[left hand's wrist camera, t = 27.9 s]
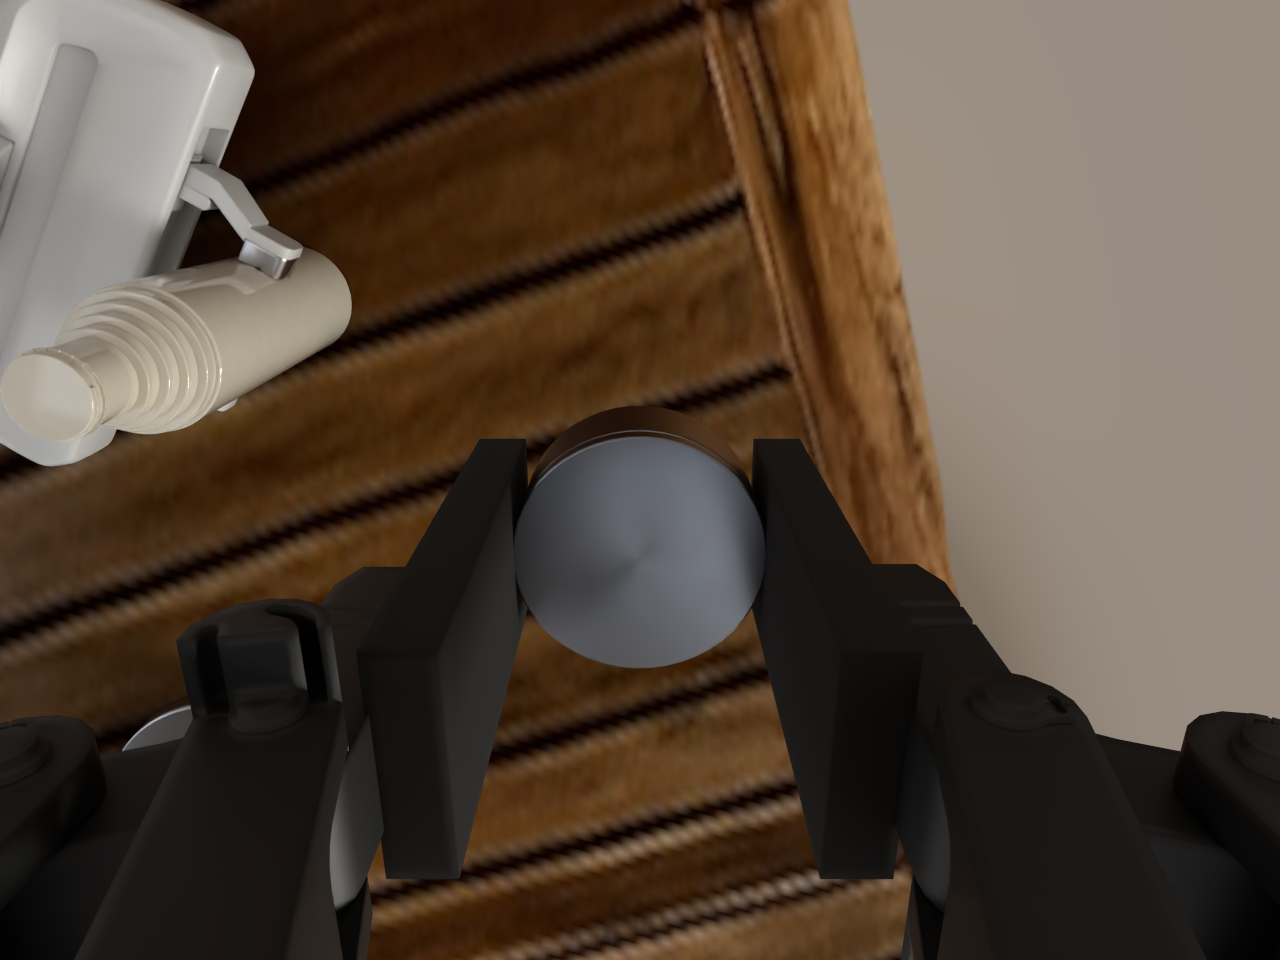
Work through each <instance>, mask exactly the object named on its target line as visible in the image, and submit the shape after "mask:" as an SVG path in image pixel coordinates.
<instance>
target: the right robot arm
mask: <svg viewBox="0 0 1280 960" xmlns="http://www.w3.org/2000/svg"><path fill="white" fill-rule="evenodd" d="M254 74H255V70H254V67H253V64H252V62H251V60H250V58H249V56H248V54H247V52H246V50H245V48H244V46H243V45H242V43H241V41H240V40H239V39H238V38H236V37H235V36H233V35H231V34H229V33H228V32H226V31H224V30H223V29H221V28H219V27H217V26H215V25H213V24H211V23H209V22H208V21H206V20H204V19H202V18H200V17H197V16H195V15H193V14H191V13H189V12H187V11H185V10H183V9H180V8H178V7H176V6H174V5H171V4H169V3H166V2H164V1H161V0H0V383H1V378H2V375H3V373H4V371H5V369H6V368H7V366H8V365H9V364H10V363H11V362H12V361H13V360H14V359H15V358H17V357H18V356H19V355H20V354H21V353H23V352H26V351H29V350H31V349H34V348H43V347H51V346H52V345H53V343H54V340H55V338H56V336H57V335H58V333H59V331H60V329H61V327H62V325H63V323H64V321H65V319H66V317H67V316H68V314H69V313H70V312H71V310H72V309H73V308H74V307H75V306H76V305H77V304H78V303H79V302H81V301H82V300H84V299H85V298H87V297H88V296H90V295H91V294H92V293H94V292H95V291H97V290H99V289H101V288H103V287H106V286H109V285H113V284H117V283H121V282H126V281H130V280H135V279H139V278H143V277H148V276H152V275H157V274H161V273H166V272H170V271H175V270H179V268H180V265H181V263H182V260H183V257H184V255H185V252H186V250H187V247H188V245H189V242H190V239H191V237H192V234H193V232H194V229H195V227H196V224H197V221H198V219H199V216H200V214H201V211H202V210H203V211H204V210H213V209H220V211H221V212H222V213H223V215H224V216H225V217H226V219H227V220H228V221H229V223H230V224H231V225H232V227H233V228H234V229H235V231H236V232H237V233H238V235H239V236H240V237H241V239H242V240H243V241H245V242H244V245H243V247H242V250H241V253H240V255H239V258H238V260H240V261H242V262H244V263H245V264H247V265H249V266H252V267H259V268H260V269H261V271H262V272H263V273H264V274H266V275H267V276H269V277H271V278H274V279H278V280H283V279H284V278H285V277H287V278H289V277H290V276H291V274H292V272H293V270H294V268H295V265H296V263H297V261H298V259H299V257H300V255H301V252H302V250H303V246H302V245H301V244H300V243H299V242H297V241H295V240H293V239H292V238H290V237H288V236H286V235H285V234H283V233H281V232H279V231H277V230H276V229H274V228H272V227H270V226H269V225H268V223H269V222H268V220H267V219H266V217H265V216H264V214H263V213H262V211H261V210H260V208H259V207H258V205H257V204H256V202H255V201H254V199H253V198H252V196H251V194H250V193H249V191H248V190H247V188H246V187H245V185H244V184H243V182H242V181H241V180H240V179H238V178H236V177H234V176H233V175H231V174H229V173H227V172H225V171H224V170H222V169H220V168H219V165H220V162H221V160H222V157H223V155H224V152H225V150H226V147H227V144H228V142H229V139H230V137H231V134H232V132H233V129H234V126H235V124H236V121H237V119H238V116H239V114H240V111H241V109H242V106H243V103H244V101H245V98H246V96H247V93H248V91H249V88H250V86H251V83H252V81H253V78H254ZM237 399H238V398H237ZM237 399H235V400H234V401H232V402H230V403H229V404H227V405H225V406H223V407H222V408H220V409H218V410H217V411H226V410H228V409H229V408H231V407H233V406H234V405H235V404H236V402H237ZM115 432H116V429H113V428H108V427H104V426H100V427H99V428H98V429H96V430H95V431H94V432H92V433H91V434H89V435H86V436H84V437H83V438H80V439H78V440H75V441H72V442H60V443H59V442H55V441H49V440H45V439H41V438H39V437H36V436H34V435H32V434H30V433H28V432H27V431H25V430H24V429H23V428H21V427H20V426H19V425H18V424H17V423H16V422H15V421H14V420H13V419H12V418H11V416H10V415H9V413H8V412H7V410H6V408H5V406H4V404H3V401H2V397H1V392H0V443H1V444H3V445H5V446H6V447H8V448H10V449H12V450H13V451H15V452H17V453H19V454H20V455H22V456H24V457H26V458H28V459H30V460H32V461H34V462H36V463H38V464H41V465H45V466H58V465H66V464H71V463H75V462H77V461H80V460H82V459H84V458H86V457H88V456H90V455H92V454H94V453H95V452H97V451H99V450H101V449H102V448H104V447H105V446H107V445H108V444H109V443H110V442H111V441H112V439H113V437H114V435H115Z"/></svg>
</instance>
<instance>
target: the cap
mask: <svg viewBox="0 0 1280 960" xmlns="http://www.w3.org/2000/svg"><path fill="white" fill-rule="evenodd" d="M513 545H514V564H515V578H516V583H517V586H518V588H519V591H520V594H521V596H522V598H523V600H524V602H525V604H526V606H527V607H528V609H529V611H530V612H531V614H532V615H533V616H534V618H535V619H536V620H537V622H538V623H539V624H540V625H541V626H542V627H543V628H544V629H545V630H546V631H547V632H548V633H549V634H550V635H551V636H552V637H553V638H555V639H556V640H557V641H558V642H560V643H561V644H562V645H564V646H566V647H567V648H569V649H570V650H572V651H574V652H576V653H578V654H580V655H582V656H584V657H586V658H588V659H591V660H594V661H597V662H600V663H604V664H608V665H613V666H618V667H627V668H653V667H661V666H667V665H671V664H675V663H679V662H682V661H685V660H688V659H690V658H693V657H696V656H698V655H700V654H702V653H704V652H705V651H707V650H709V649H711V648H712V647H714V646H715V645H717V644H718V643H720V642H721V641H723V640H724V639H725V638H726V637H727V636H728V635H729V634H731V633H732V632H733V631H734V630H735V629H736V628H737V626H738V625H739V624H740V623H741V622H742V621H743V620H744V618H745V617H746V615H747V614H748V612H749V611H750V610H751V608H752V607H753V605H754V603H755V601H756V599H757V597H758V595H759V593H760V590H761V587H762V584H763V581H764V570H765V553H766V531H765V528H764V524H763V520H762V516H761V514H760V511H759V508H758V505H757V502H756V499H755V496H754V493H753V490H752V488H751V485H750V482H749V479H748V477H747V474H746V472H745V470H744V467H743V465H742V464H741V462H740V460H739V459H738V457H737V455H736V454H735V453H734V451H733V450H732V449H731V448H730V446H729V445H728V444H727V443H726V442H725V441H724V440H723V439H722V438H721V437H720V436H719V435H718V434H717V433H716V432H714V431H713V430H711V429H710V428H709V427H707V426H706V425H705V424H703V423H701V422H699V421H697V420H695V419H694V418H692V417H690V416H687V415H684V414H682V413H679V412H677V411H673V410H669V409H664V408H660V407H651V406H628V407H621V408H614V409H610V410H607V411H603V412H600V413H597V414H595V415H592V416H590V417H588V418H585V419H584V420H582V421H580V422H578V423H577V424H575V425H573V426H572V427H570V428H569V429H568V430H567V431H565V432H564V433H563V434H561V435H560V436H559V437H558V438H557V439H556V440H555V441H554V442H553V443H552V444H551V445H550V447H549V448H548V449H547V451H546V452H545V453H544V455H543V456H542V457H541V459H540V461H539V463H538V465H537V466H536V468H535V470H534V473H533V475H532V478H531V481H530V483H529V486H528V489H527V492H526V495H525V498H524V501H523V503H522V506H521V509H520V512H519V515H518V518H517V521H516V524H515V529H514V534H513Z"/></svg>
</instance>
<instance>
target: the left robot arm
mask: <svg viewBox="0 0 1280 960" xmlns="http://www.w3.org/2000/svg"><path fill="white" fill-rule="evenodd" d="M751 488H752V490H753V493H754V496H755V499H756V502H757V505H758V508H759V511H760V514H761V516H762V520H763V524H764V528H765V531H766V553H765V570H764V581H763V584H762V587H761V590H760V593H759V595H758V597H757V599H756V601H755V603H754V605H753V607H752V610H753V614H754V618H755V622H756V626H757V630H758V634H759V638H760V642H761V646H762V650H763V654H764V658H765V662H766V665H767V669H768V673H769V677H770V681H771V685H772V689H773V693H774V697H775V701H776V705H777V709H778V713H779V717H780V721H781V725H782V729H783V733H784V737H785V741H786V745H787V749H788V753H789V757H790V761H791V764H792V768H793V772H794V776H795V780H796V784H797V788H798V792H799V796H800V800H801V804H802V808H803V812H804V816H805V820H806V824H807V828H808V832H809V836H810V840H811V844H812V848H813V852H814V856H815V860H816V863H817V867H818V871H819V875H820V879H893V876H894V869H895V861H896V854H897V846H898V839H899V837H900V840H901V842H902V845H903V847H904V850H905V853H906V855H907V858H908V860H909V863H910V866H911V868H912V871H913V878H912V885H911V892H910V899H909V906H908V913H907V920H906V926H905V933H904V940H903V947H902V954H901V960H913V959H914V960H1280V719H1277V718H1272V719H1271V718H1268V716H1264V715H1259V714H1254V713H1237V712H1224V711H1221V712H1216V713H1210V714H1205V715H1200V716H1198V717H1197V718H1196V719H1195V720H1194V721H1192V722H1191V723H1190V724H1189V725H1188V726H1187V729H1186V733H1185V736H1184V740H1183V744H1182V748H1181V751H1176V750H1170V749H1165V748H1160V747H1155V746H1150V745H1145V744H1139V743H1134V742H1129V741H1124V740H1119V739H1115V738H1111V737H1107V736H1103V735H1099V734H1095V732H1094V730H1093V728H1092V726H1091V724H1090V722H1089V720H1088V718H1087V716H1086V715H1085V714H1084V713H1083V711H1082V710H1081V709H1080V708H1079V707H1078V705H1077V704H1076V703H1075V702H1074V701H1073V700H1072V699H1070V698H1069V697H1067V696H1066V695H1064V694H1063V693H1061V692H1060V691H1058V690H1057V689H1055V688H1053V687H1052V686H1050V685H1047V684H1044V683H1042V682H1039V681H1037V680H1034V679H1032V678H1029V677H1027V676H1023V675H1018V674H1013V673H1011V672H1010V671H1009V669H1008V668H1007V667H1006V665H1005V664H1004V663H1003V661H1002V660H1001V658H1000V657H999V656H998V654H997V653H996V652H995V650H994V649H993V647H992V646H991V645H990V643H989V642H988V641H987V639H986V638H985V637H984V635H983V634H982V632H981V631H980V630H979V628H978V627H977V626H976V625H973V623H972V619H971V617H970V616H969V615H968V613H967V612H966V610H965V609H964V608H963V607H960V602H959V601H958V600H957V598H956V597H955V595H954V594H953V593H952V591H951V590H950V589H949V587H948V586H947V585H946V583H945V582H944V581H942V580H941V579H939V578H937V577H936V576H934V575H933V574H931V573H929V572H928V571H926V570H925V569H923V568H921V567H920V566H918V565H917V564H872V563H871V561H870V559H869V557H868V556H867V554H866V552H865V551H864V549H863V547H862V545H861V544H860V542H859V540H858V539H857V537H856V535H855V533H854V532H853V530H852V528H851V527H850V525H849V523H848V521H847V520H846V518H845V516H844V515H843V513H842V511H841V509H840V508H839V506H838V504H837V503H836V501H835V499H834V497H833V496H832V494H831V492H830V491H829V489H828V487H827V485H826V484H825V482H824V480H823V479H822V477H821V475H820V473H819V472H818V470H817V468H816V466H815V465H814V463H813V461H812V460H811V458H810V456H809V454H808V453H807V451H806V449H805V448H804V446H803V444H802V442H801V441H800V439H754V442H753V463H752V483H751ZM527 489H528V474H527V454H526V439H480V440H479V441H478V443H477V445H476V447H475V448H474V450H473V452H472V453H471V455H470V457H469V459H468V460H467V462H466V464H465V465H464V467H463V469H462V471H461V472H460V474H459V476H458V477H457V479H456V481H455V483H454V484H453V486H452V488H451V489H450V491H449V493H448V495H447V496H446V498H445V500H444V501H443V503H442V505H441V507H440V508H439V510H438V512H437V514H436V515H435V517H434V519H433V520H432V522H431V524H430V526H429V527H428V529H427V531H426V532H425V534H424V536H423V538H422V539H421V541H420V543H419V544H418V546H417V548H416V550H415V551H414V553H413V555H412V556H411V558H410V560H409V562H408V563H407V565H406V567H363V568H361V569H360V570H358V571H356V572H355V573H353V574H352V575H350V576H349V577H347V578H345V579H344V580H342V581H341V582H339V583H337V584H336V585H335V586H334V587H333V589H332V590H331V591H330V593H329V594H328V595H327V597H326V598H325V600H324V601H323V602H322V604H321V605H320V606H319V605H318V604H316V603H311V602H307V601H303V600H299V599H266V600H260V601H254V602H248V603H242V604H239V605H236V606H233V607H230V608H227V609H224V610H221V611H218V612H215V613H213V614H211V615H209V616H207V617H205V618H204V619H202V620H200V621H198V622H196V623H195V624H193V625H191V626H190V627H189V628H188V629H187V630H186V631H185V632H184V633H183V634H182V635H181V636H180V637H179V638H178V639H177V640H176V642H177V647H178V652H179V656H180V661H181V665H182V670H183V675H184V679H185V684H186V688H187V693H188V697H185V698H182V699H180V700H177V701H175V702H173V703H171V704H169V705H167V706H166V707H164V708H162V709H161V710H159V711H158V712H157V713H155V714H154V715H153V716H152V717H151V718H150V719H149V720H147V721H146V723H145V724H144V725H143V726H142V727H141V728H140V729H139V730H138V732H137V733H136V734H135V735H134V736H133V737H132V738H131V740H130V741H129V742H128V743H127V744H126V746H125V747H124V749H123V750H122V751H119V752H114V753H109V754H104V755H100V754H99V751H98V747H97V743H96V739H95V736H94V732H93V729H91V728H90V727H89V726H88V725H87V724H85V723H84V722H83V721H82V720H81V719H75V718H70V717H64V716H59V715H56V716H44V717H27V718H22V719H17V720H12V722H10V723H8V722H4V723H1V724H0V960H367V953H368V945H369V937H370V929H371V921H372V906H371V899H370V892H369V885H368V878H367V874H368V871H369V868H370V866H371V863H372V861H373V858H374V855H375V853H376V850H377V848H378V845H379V842H380V840H381V843H382V851H383V858H384V865H385V873H386V879H459V877H460V873H461V869H462V865H463V861H464V857H465V853H466V849H467V845H468V841H469V837H470V833H471V829H472V826H473V822H474V818H475V814H476V810H477V806H478V802H479V798H480V794H481V790H482V786H483V782H484V778H485V774H486V770H487V766H488V762H489V758H490V754H491V750H492V746H493V742H494V738H495V734H496V731H497V727H498V723H499V719H500V715H501V711H502V707H503V703H504V699H505V695H506V691H507V687H508V683H509V679H510V675H511V671H512V667H513V663H514V659H515V655H516V651H517V647H518V643H519V639H520V636H521V632H522V628H523V624H524V620H525V616H526V612H527V608H528V607H527V606H526V604H525V602H524V600H523V598H522V596H521V594H520V591H519V588H518V586H517V583H516V578H515V564H514V545H513V534H514V529H515V524H516V521H517V518H518V515H519V512H520V509H521V506H522V503H523V501H524V498H525V495H526V492H527Z"/></svg>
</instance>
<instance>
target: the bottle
mask: <svg viewBox="0 0 1280 960" xmlns="http://www.w3.org/2000/svg"><path fill="white" fill-rule="evenodd" d="M238 258H239V256H237V257H233V258H228V259H224V260H219V261H215V262H210V263H206V264H201V265H197V266H192V267H188V268H184V269H179V270H175V271H170V272H166V273H161V274H157V275H152V276H148V277H143V278H139V279H135V280H130V281H126V282H121V283H117V284H113V285H109V286H106V287H103V288H101V289H99V290H97V291H95V292H94V293H92V294H91V295H90V296H88V297H87V298H85V299H84V300H82V301H81V302H79V303H78V304H77V305H76V306H75V307H74V308H73V309H72V310H71V312H70V313H69V314H68V316H67V317H66V319H65V321H64V323H63V325H62V327H61V329H60V331H59V333H58V335H57V336H56V338H55V340H54V343H53V345H52V346H51V347H43V348H34V349H31V350H29V351H26V352H23V353H21V354H20V355H19V356H18V357H17V358H15V359H14V360H13V361H12V362H11V363H10V364H9V365H8V366H7V368H6V369H5V371H4V373H3V375H2V378H1V383H0V392H1V397H2V401H3V404H4V406H5V408H6V410H7V412H8V413H9V415H10V416H11V418H12V419H13V420H14V421H15V422H16V423H17V424H18V425H19V426H20V427H21V428H23V429H24V430H25V431H27V432H28V433H30V434H32V435H34V436H36V437H39V438H41V439H45V440H49V441H55V442H59V443H60V442H72V441H75V440H78V439H80V438H83V437H84V436H86V435H89V434H91V433H92V432H94V431H95V430H96V429H98V428H99V427H100V426H104V427H108V428H113V429H119V430H123V431H128V432H132V433H139V434H158V433H164V432H170V431H176V430H179V429H183V428H186V427H188V426H190V425H192V424H194V423H196V422H197V421H199V420H201V419H203V418H204V417H206V416H208V415H209V414H211V413H213V412H215V411H216V410H218V409H220V408H222V407H223V406H225V405H227V404H229V403H230V402H232V401H234V400H235V399H237V398H239V397H241V396H242V395H244V394H246V393H248V392H249V391H251V390H253V389H254V388H256V387H258V386H260V385H261V384H263V383H265V382H267V381H268V380H270V379H272V378H273V377H275V376H277V375H279V374H280V373H282V372H284V371H286V370H287V369H289V368H291V367H293V366H294V365H296V364H298V363H299V362H301V361H303V360H305V359H306V358H308V357H310V356H312V355H313V354H315V353H317V352H318V351H320V350H322V349H324V348H325V347H327V346H329V345H330V344H332V343H334V342H335V341H336V340H337V339H338V338H339V337H340V336H341V335H342V334H343V332H344V331H345V329H346V327H347V325H348V323H349V320H350V316H351V309H352V302H351V295H350V291H349V287H348V285H347V282H346V280H345V278H344V277H343V275H342V273H341V272H340V271H339V269H338V268H337V267H336V266H335V265H334V264H333V263H332V262H331V261H330V260H329V259H328V258H326V257H325V256H323V255H322V254H320V253H318V252H317V251H314V250H312V249H309V248H306V247H303V250H302V252H301V255H300V257H299V259H298V261H297V263H296V265H295V268H294V270H293V272H292V274H291V276H290V277H289V278H287V277H285V278H284V279H283V280H278V279H274V278H271V277H269V276H267V275H266V274H264V273H263V272H262V271H261V269H260V268H259V267H252V266H249V265H247V264H245V263H244V262H242V261H240V260H238Z"/></svg>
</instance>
